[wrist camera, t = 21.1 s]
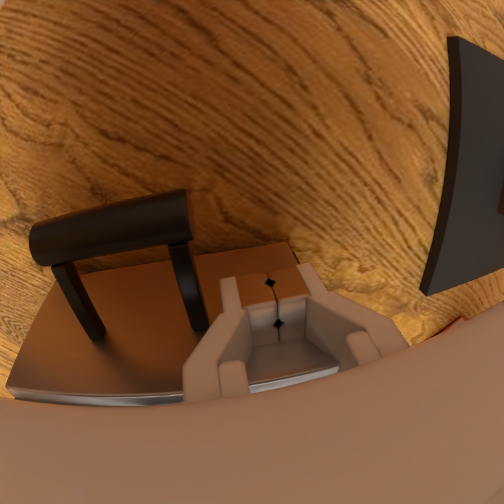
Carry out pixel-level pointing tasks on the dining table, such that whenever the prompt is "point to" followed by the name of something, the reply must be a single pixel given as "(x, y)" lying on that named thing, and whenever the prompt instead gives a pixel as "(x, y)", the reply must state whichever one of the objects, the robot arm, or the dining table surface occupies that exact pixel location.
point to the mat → (470, 173)
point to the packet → (501, 203)
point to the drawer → (140, 310)
